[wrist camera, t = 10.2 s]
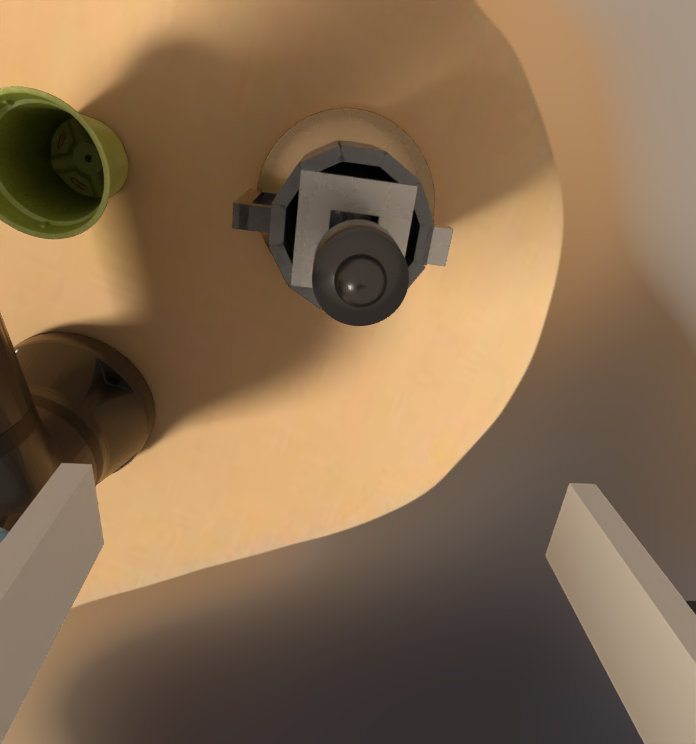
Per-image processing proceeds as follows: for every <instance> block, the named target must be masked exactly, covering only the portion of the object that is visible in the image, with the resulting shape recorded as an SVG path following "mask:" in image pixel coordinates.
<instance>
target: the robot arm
mask: <svg viewBox="0 0 696 744" xmlns="http://www.w3.org/2000/svg"><path fill="white" fill-rule="evenodd" d="M154 417H155V409H154V402H153V398H152V394H151V391H150V389H149V387H148V385H147V383H146V381H145V379H144V378H143V376H142V375H141V373H140V372H139V371H138V369H137V368H136V367H135V366H134V365H133V364H132V363H131V362H130V361H129V360H128V359H127V358H126V357H124V356H123V355H122V354H121V353H119V352H118V351H116V350H115V349H113V348H112V347H110V346H108V345H106V344H104V343H102V342H100V341H98V340H95V339H93V338H90V337H86V336H83V335H78V334H72V333H47V334H41V335H37V336H34V337H31V338H29V339H26V340H24V341H22V342H21V343H19V344H18V345H16V346H15V347H13V345H12V342H11V340H10V337H9V334H8V332H7V329H6V326H5V324H4V321H3V318H2V316H1V313H0V744H1V743H2V741H3V739H4V737H5V735H6V733H7V731H8V729H9V727H10V725H11V724H12V722H13V720H14V718H15V716H16V714H17V712H18V710H19V708H20V706H21V704H22V702H23V700H24V698H25V696H26V694H27V693H28V691H29V689H30V687H31V685H32V683H33V681H34V679H35V677H36V675H37V673H38V671H39V669H40V667H41V665H42V663H43V661H44V659H45V657H46V655H47V654H48V652H49V650H50V648H51V646H52V644H53V642H54V640H55V638H56V636H57V634H58V632H59V630H60V628H61V626H62V624H63V622H64V620H65V619H66V616H67V615H68V613H69V611H70V609H71V607H72V605H73V603H74V601H75V599H76V597H77V595H78V593H79V591H80V589H81V587H82V585H83V583H84V582H85V580H86V578H87V576H88V574H89V572H90V570H91V568H92V566H93V564H94V562H95V560H96V558H97V556H98V554H99V552H100V550H101V548H102V546H103V545H104V540H103V534H102V527H101V521H100V514H99V508H98V501H97V495H96V488H95V487H96V485H97V484H98V483H100V482H101V481H102V480H104V479H105V478H106V477H108V476H109V475H110V474H112V473H115V472H117V471H118V470H120V469H122V468H123V467H125V466H126V465H127V464H129V463H130V462H131V461H132V460H133V459H134V458H135V457H136V456H137V455H138V453H139V452H140V451H141V449H142V447H143V446H144V444H145V442H146V441H147V439H148V437H149V435H150V433H151V431H152V428H153V424H154ZM545 556H546V558H547V560H548V562H549V563H550V565H551V567H552V569H553V571H554V573H555V575H556V577H557V579H558V581H559V583H560V584H561V586H562V588H563V590H564V592H565V594H566V596H567V598H568V600H569V602H570V603H571V605H572V607H573V609H574V611H575V613H576V615H577V617H578V619H579V621H580V622H581V624H582V626H583V628H584V630H585V632H586V634H587V636H588V638H589V640H590V641H591V643H592V645H593V647H594V649H595V651H596V653H597V655H598V657H599V659H600V660H601V662H602V664H603V666H604V668H605V670H606V672H607V673H608V676H609V678H610V679H611V681H612V683H613V685H614V687H615V689H616V691H617V693H618V695H619V696H620V698H621V700H622V702H623V704H624V706H625V708H626V710H627V712H628V714H629V716H630V717H631V719H632V721H633V723H634V725H635V727H636V729H637V731H638V732H639V735H640V736H641V738H642V740H643V742H644V744H696V601H685V600H684V599H683V598H682V596H681V595H680V594H679V593H678V591H677V590H676V589H675V587H674V586H673V585H672V583H671V582H670V581H669V579H668V578H667V577H666V575H665V574H664V573H663V572H662V570H661V569H660V568H659V567H658V565H657V564H656V563H655V561H654V560H653V559H652V557H651V556H650V555H649V553H648V552H647V551H646V550H645V548H644V547H643V546H642V544H641V543H640V542H639V540H638V539H637V538H636V537H635V535H634V534H633V533H632V531H631V530H630V529H629V527H628V526H627V525H626V524H625V522H624V521H623V520H622V518H621V517H620V516H619V514H618V513H617V512H616V511H615V509H614V508H613V507H612V505H611V504H610V503H609V501H608V500H607V499H606V498H605V496H604V495H603V494H602V493H601V491H600V490H599V488H598V487H597V486H596V485H595V484H578V483H576V484H575V483H569V486H568V489H567V493H566V495H565V498H564V501H563V504H562V508H561V511H560V513H559V516H558V519H557V522H556V526H555V528H554V531H553V534H552V537H551V540H550V543H549V546H548V549H547V552H546V555H545Z"/></svg>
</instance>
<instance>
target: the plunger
mask: <svg viewBox="0 0 696 744" xmlns="http://www.w3.org/2000/svg"><path fill="white" fill-rule="evenodd" d="M325 172H326V173H333V174H340V175H347V176H355V177H362V178H369V179H376V180H378V179H377V178H376V177H375V176H374V175H373V174H371V173H370V172H368V171H367V170H365V169H362V168H359V167H355V166H338V167H334V168H332V169H329V170H327V171H325ZM377 220H378V216H374V215H366V214H359V213H352V212H344V211H337V210H331V213H330V222H329V230H328V231H327V232H326V233H325V235H324V236H323V237H322V238H321V240H320V241H319V243H318V245H317V248H316V251H315V255H314V262H313V271H312V287H313V291H314V295H315V297H316V299H317V301H318V303H319V305H320V306H321V307H322V309H323V310H324V311H325V312H326V313H327V314H328V315H329V316H331V317H332V318H334V319H335V320H337V321H339V322H341V323H344V324H348V325H353V326H366V325H371V324H375V323H378V322H380V321H382V320H384V319H386V318H387V317H389V316H390V315H391V314H392V313H394V312H395V311H396V309H397V308H398V307H399V306H400V304H401V303H402V301H403V299H404V298H405V295H406V293H407V289H408V284H409V271H408V266H407V262H406V260H405V258H404V255H403V254H402V252H401V250H400V248H399V247H398V245H397V243H396V241H395V240H394V238H393V237H392V235H391V234H390V233H389V232H388V231H387V230H386V229H385V228H383V227H382V226H380V225H378V224H377Z"/></svg>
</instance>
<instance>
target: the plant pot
mask: <svg viewBox="0 0 696 744" xmlns="http://www.w3.org/2000/svg"><path fill="white" fill-rule="evenodd" d="M62 133H66V134H67V136H66V138H65V140H64V142H63V144H62V148H61V149H59V147H58V143H59V139H60V136H61V135H62ZM87 155H89V156H91V158H92V160H91V161H90V162H87V161H86V159H85V157H86V156H87ZM128 167H129V164H128V159H127V156H126V153H125V150H124V147H123V144H122V142H121V140H120V139H119V137H118V136H117V135H116V134H115V132H114V131H113V130H112V129H110V128H109V127H108V126H107V125H105V124H104V123H102V122H100V121H98V120H96V119H93V118H90V117H87V116H84V115H81V114H79V113H78V112H77V111H76V110H75V109H73V108H72V107H71V106H70V105H68V104H67V103H65V102H64V101H62V100H61V99H59V98H57V97H55V96H53V95H51V94H49V93H46V92H43V91H40V90H37V89H32V88H27V87H13V86H12V87H4V88H0V220H2V221H3V222H5V223H6V224H8V225H9V226H11V227H13V228H15V229H17V230H18V231H21V232H23V233H26V234H28V235H31V236H35V237H39V238H45V239H63V238H69V237H73V236H76V235H78V234H81V233H83V232H84V231H86V230H88V229H89V228H90V227H92V226H93V225H94V224H95V223H96V222H97V221H98V220H99V218H100V217H101V215H102V214H103V212H104V210H105V208H106V206H107V203H108V199H109V198H110V197H112V196H113V195H114V194H115V193H116V192H117V191H118V190H119V189H120V188H121V187H122V186H123V184H124V183H125V181H126V178H127V174H128ZM71 177H73V178H75V179H76V180H77V181H79V182H80V183H82V184H84V185H86V186H87V189H82V188H80V187H78V186H77V185H75V184H74V183H73V182H72V180H71Z"/></svg>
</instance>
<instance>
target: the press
mask: <svg viewBox="0 0 696 744" xmlns="http://www.w3.org/2000/svg"><path fill="white" fill-rule="evenodd" d="M338 166H355V167H359V168H362V169H365V170H367V171H368V172H370V173H371V174H373V175H374V176H375V177H376V178H377V179H378V180H376V179H369V178H362V177H355V176H347V175H340V174H333V173H326V172H325V171H327V170H329V169H332V168H334V167H338ZM331 210H337V211H344V212H352V213H359V214H366V215H374V216H378V220H377V224H378V225H380V226H382V227H383V228H385V229H386V230H387V231H388V232H389V233H390V234H391V235H392V237H393V238H394V240H395V241H396V243H397V245H398V247H399V248H400V250H401V252H402V254H403V255H404V258H405V260H406V262H407V266H408V271H409V284H408V288H409V287H410V285H411V284H412V283H413V282H414V281H415V279H416V278H417V277H418V276H419V275H420V273H421V272H422V271H423V270H424V269H425V266H424V265H427V264H431V265H439V266H445V265H446V261H447V256H448V252H449V247H450V243H451V238H452V233H453V229H452V228H451V227H450V226H443V225H435V224H433V223H434V220H433V214H434V187H433V181H432V177H431V173H430V170H429V168H428V165H427V162H426V160H425V158H424V156H423V155H422V153H421V151H420V149H419V148H418V146H417V145H416V144H415V142H414V141H413V140H412V139H411V138H410V137H409V136H408V134H407V133H406V132H405V131H404V130H402V129H401V128H400V127H398V126H397V125H396V124H395V123H393V122H391V121H390V120H388V119H386V118H384V117H383V116H380V115H377V114H375V113H372V112H369V111H365V110H360V109H351V108H341V109H331V110H327V111H322V112H319V113H317V114H314V115H311V116H309V117H307V118H305V119H303V120H302V121H300V122H298V123H297V124H295V125H294V126H293V127H291V128H290V129H289V130H288V131H287V132H286V133H285V134H284V135H283V136H282V137H281V138H280V139H279V140H278V141H277V143H276V144H275V145H274V147H273V148H272V149H271V151H270V153H269V155H268V157H267V158H266V160H265V163H264V165H263V168H262V170H261V173H260V177H259V181H258V187H257V190H256V189H250V190H249V191H247V192H246V193H245V194H244V195H242V196H241V197H240V198H239V199H238V200H236V201H235V202H234V203H233V227H232V228H235V229H243V230H250V231H258V232H261V233H262V235H263V237H264V240H265V242H266V244H267V246H268V248H269V250H270V251H271V253H272V255H273V257H274V259H275V261H276V263H277V265H278V267H279V269H280V271H281V273H282V275H283V278H284V280H285V282H286V284H289V285H288V286H289V287H290V288H292V289H293V290H294V291H296V292H297V293H299V294H300V295H301V296H303V297H304V298H306V299H307V300H308V301H310V302H311V303H313V304H314V305H315V306H317V307H318V308H321V306H320V305H319V303H318V301H317V299H316V297H315V295H314V291H313V287H312V271H313V262H314V255H315V251H316V248H317V245H318V243H319V241H320V240H321V238H322V237H323V236H324V235H325V233H326V232H327V231H328V230H329V222H330V213H331ZM322 310H323V309H322Z"/></svg>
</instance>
